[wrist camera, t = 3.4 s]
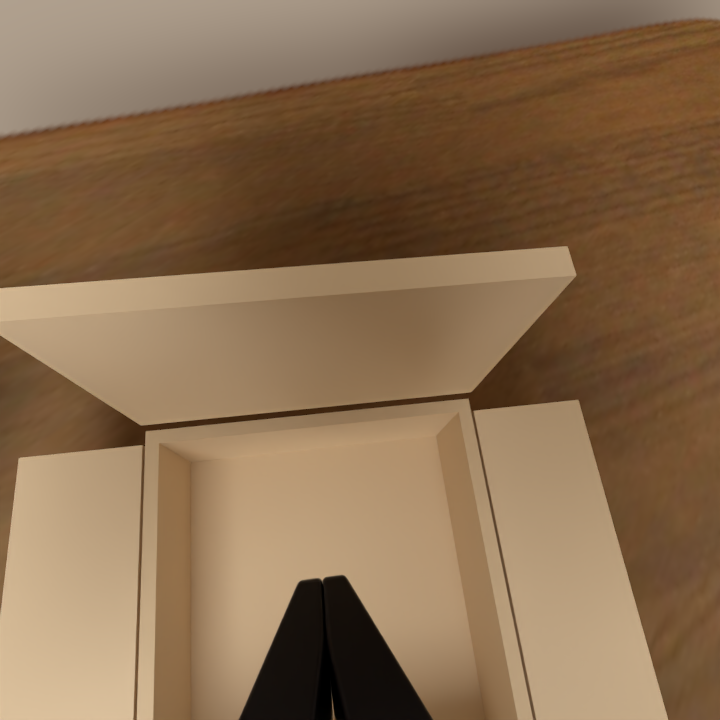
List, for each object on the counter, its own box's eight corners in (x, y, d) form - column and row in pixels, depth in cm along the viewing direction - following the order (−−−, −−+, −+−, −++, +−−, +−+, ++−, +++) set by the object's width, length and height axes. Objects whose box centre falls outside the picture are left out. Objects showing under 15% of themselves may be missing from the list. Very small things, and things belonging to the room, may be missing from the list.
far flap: (471, 392, 15) (576, 275, 9) (140, 425, 14) (-19, 323, 8) (467, 370, 15) (565, 241, 9) (141, 402, 15) (-13, 283, 8)
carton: (666, 981, 14) (785, 1134, 11) (34, 1120, 13) (-90, 1359, 9) (530, 417, 20) (575, 387, 16) (82, 465, 18) (19, 444, 15)
